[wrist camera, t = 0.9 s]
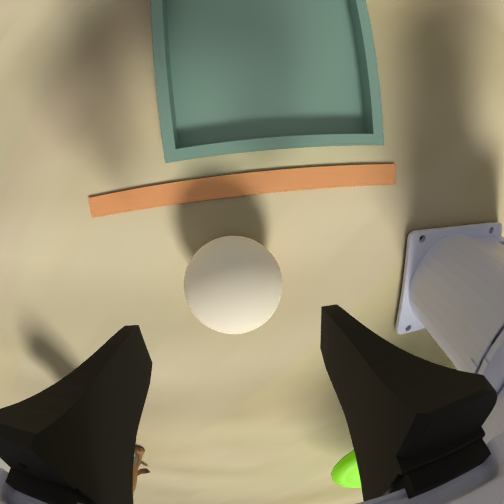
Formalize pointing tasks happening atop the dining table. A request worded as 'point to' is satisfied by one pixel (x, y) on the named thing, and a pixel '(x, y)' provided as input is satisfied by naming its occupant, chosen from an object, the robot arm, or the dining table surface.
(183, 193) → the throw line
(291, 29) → the tray
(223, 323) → the ball
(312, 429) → the dining table surface
